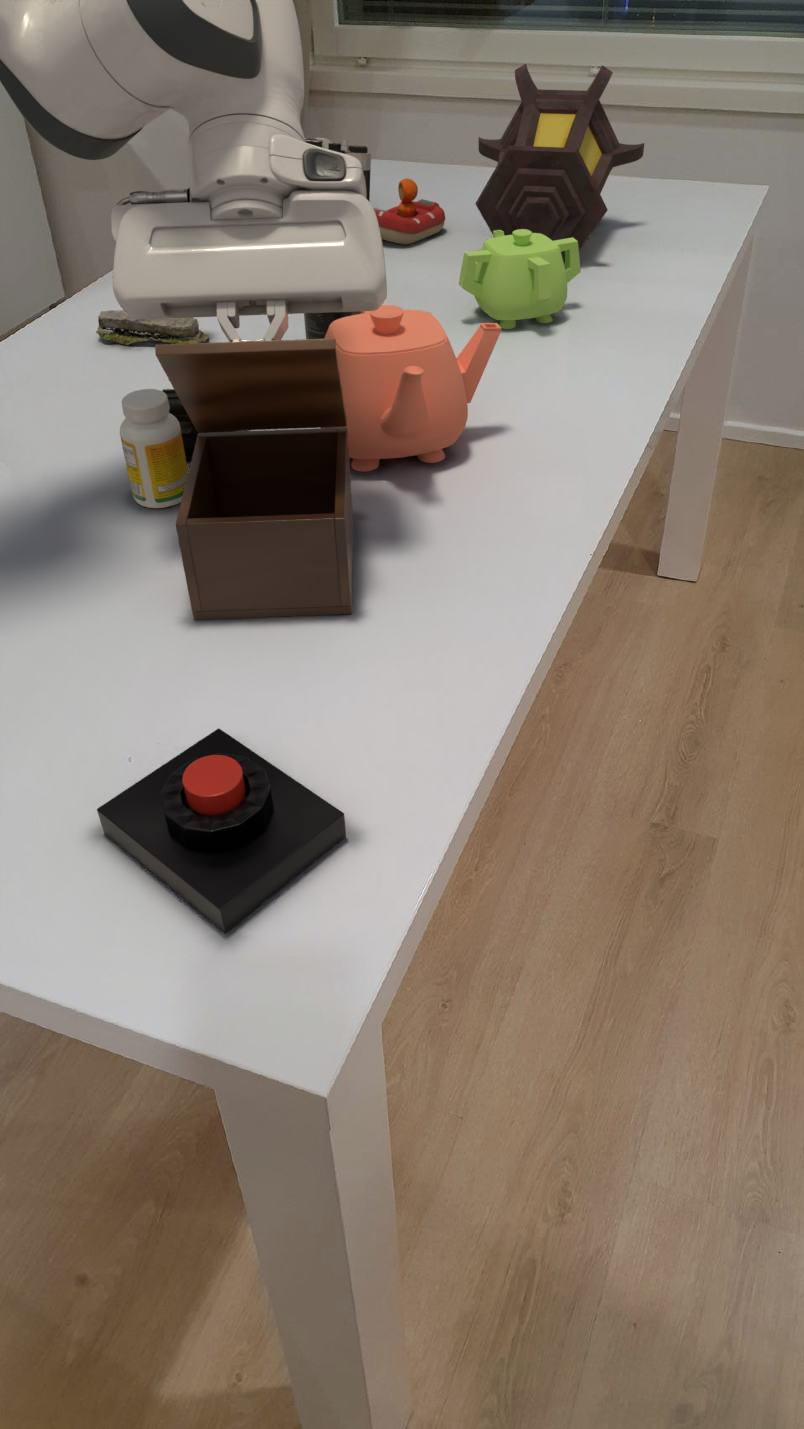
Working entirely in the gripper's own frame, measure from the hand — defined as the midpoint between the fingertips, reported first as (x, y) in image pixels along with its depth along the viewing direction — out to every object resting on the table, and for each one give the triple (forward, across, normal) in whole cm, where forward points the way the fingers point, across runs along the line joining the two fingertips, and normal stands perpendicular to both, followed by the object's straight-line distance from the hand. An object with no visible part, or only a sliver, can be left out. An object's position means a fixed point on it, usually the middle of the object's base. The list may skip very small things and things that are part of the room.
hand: (254, 368), depth 80 cm
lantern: (-44, +34, +69) cm, 89 cm away
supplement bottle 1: (+4, -12, +21) cm, 24 cm away
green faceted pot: (-25, +26, +49) cm, 61 cm away
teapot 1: (-2, +11, +26) cm, 28 cm away
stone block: (-22, -18, +47) cm, 55 cm away
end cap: (-4, -8, +28) cm, 30 cm away
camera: (-56, +3, +81) cm, 99 cm away
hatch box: (+12, 0, +12) cm, 17 cm away
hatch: (+1, 0, +3) cm, 3 cm away
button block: (+34, -2, -10) cm, 35 cm away
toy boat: (-46, +14, +71) cm, 86 cm away
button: (+31, -2, -12) cm, 34 cm away
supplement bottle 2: (-18, +4, +43) cm, 46 cm away
